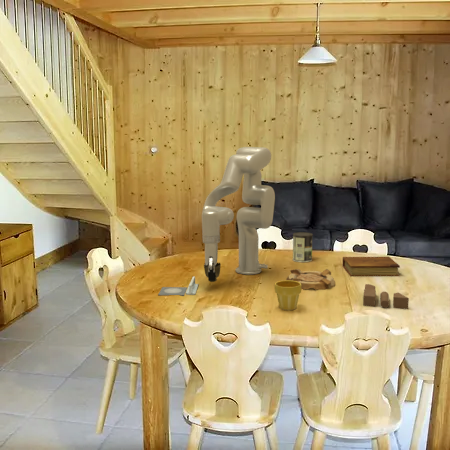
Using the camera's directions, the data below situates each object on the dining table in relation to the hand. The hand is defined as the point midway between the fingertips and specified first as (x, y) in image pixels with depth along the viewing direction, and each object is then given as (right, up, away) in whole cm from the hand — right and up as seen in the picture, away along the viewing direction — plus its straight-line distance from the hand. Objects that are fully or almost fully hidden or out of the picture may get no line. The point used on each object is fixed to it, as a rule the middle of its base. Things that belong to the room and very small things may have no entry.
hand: (212, 277), depth 243 cm
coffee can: (+46, +4, +48) cm, 67 cm away
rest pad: (-17, -6, -5) cm, 19 cm away
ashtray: (+44, -3, +7) cm, 45 cm away
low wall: (-9, -5, -3) cm, 10 cm away
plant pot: (+30, -9, -27) cm, 41 cm away
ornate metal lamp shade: (0, -2, 0) cm, 2 cm away
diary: (+76, 0, +26) cm, 80 cm away
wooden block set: (+70, -8, -19) cm, 73 cm away
